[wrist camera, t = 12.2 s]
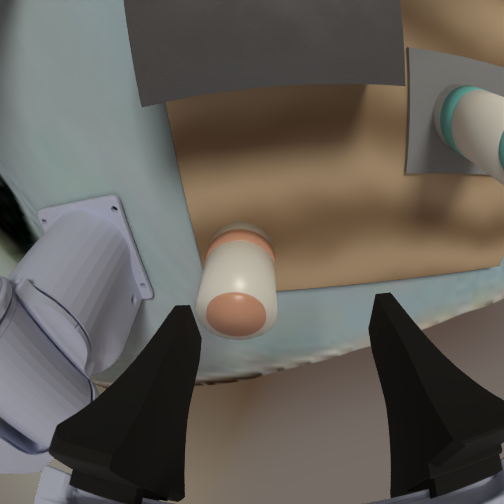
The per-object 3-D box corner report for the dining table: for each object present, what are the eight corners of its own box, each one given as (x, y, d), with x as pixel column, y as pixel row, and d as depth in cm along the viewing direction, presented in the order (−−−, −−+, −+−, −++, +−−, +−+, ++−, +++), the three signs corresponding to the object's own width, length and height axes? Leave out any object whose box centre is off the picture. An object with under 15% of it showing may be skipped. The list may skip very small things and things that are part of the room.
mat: (494, 173, 17) (496, 175, 17) (404, 171, 18) (406, 173, 18) (503, 67, 13) (506, 68, 12) (406, 47, 13) (408, 47, 13)
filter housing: (368, 76, 15) (407, 87, 10) (172, 92, 16) (140, 108, 11) (356, -40, 10) (389, -67, 6) (154, -22, 11) (117, -45, 7)
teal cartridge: (487, 88, 14) (553, 113, 8) (482, 151, 16) (539, 192, 11) (433, 78, 14) (497, 96, 9) (429, 147, 16) (485, 190, 11)
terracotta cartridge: (276, 272, 23) (280, 341, 18) (215, 277, 23) (204, 344, 18) (271, 218, 20) (275, 282, 15) (203, 224, 21) (184, 288, 15)
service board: (494, 259, 23) (499, 266, 22) (211, 286, 25) (210, 295, 24) (524, 6, 10) (532, 7, 9) (150, -25, 12) (145, -28, 11)
